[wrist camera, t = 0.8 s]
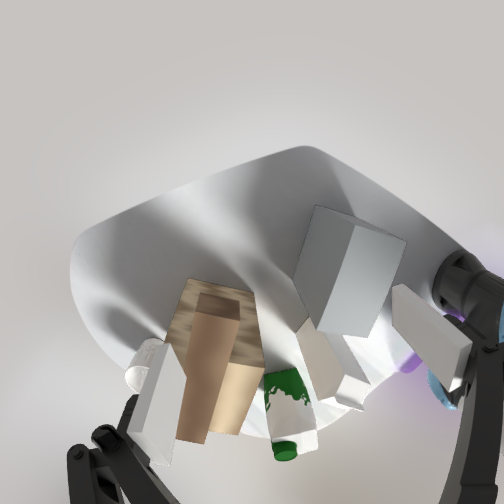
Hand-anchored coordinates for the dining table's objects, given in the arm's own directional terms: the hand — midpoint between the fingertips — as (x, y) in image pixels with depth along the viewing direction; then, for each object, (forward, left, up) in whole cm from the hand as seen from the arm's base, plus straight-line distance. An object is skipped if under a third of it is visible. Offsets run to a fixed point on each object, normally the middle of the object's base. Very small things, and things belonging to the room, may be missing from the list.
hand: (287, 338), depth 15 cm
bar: (+3, +14, -13) cm, 19 cm away
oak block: (+2, +19, -34) cm, 39 cm away
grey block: (-14, +1, -34) cm, 36 cm away
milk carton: (-16, +32, -34) cm, 49 cm away
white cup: (+12, +30, -34) cm, 47 cm away
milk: (-18, +17, -34) cm, 42 cm away
